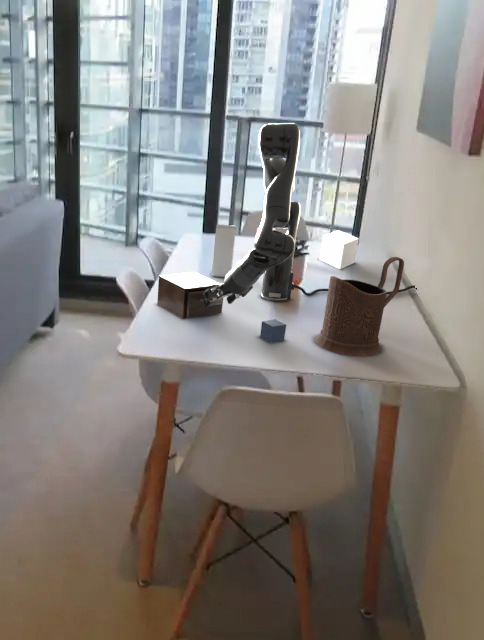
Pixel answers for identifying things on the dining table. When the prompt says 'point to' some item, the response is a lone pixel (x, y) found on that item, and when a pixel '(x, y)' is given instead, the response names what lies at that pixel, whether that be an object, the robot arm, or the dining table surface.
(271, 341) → the block
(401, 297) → the dining table surface
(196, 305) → the drawer
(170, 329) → the dining table surface
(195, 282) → the cabinet
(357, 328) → the cup holder
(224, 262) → the milk carton
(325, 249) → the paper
